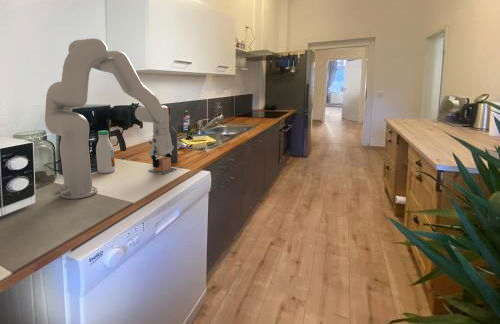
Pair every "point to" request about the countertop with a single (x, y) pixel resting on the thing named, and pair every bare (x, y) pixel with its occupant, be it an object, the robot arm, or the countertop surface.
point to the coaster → (161, 171)
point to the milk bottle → (105, 153)
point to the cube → (163, 164)
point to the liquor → (173, 142)
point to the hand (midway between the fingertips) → (162, 165)
